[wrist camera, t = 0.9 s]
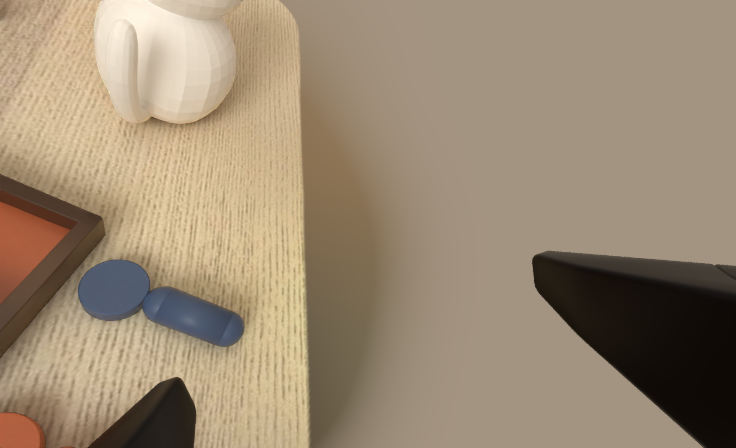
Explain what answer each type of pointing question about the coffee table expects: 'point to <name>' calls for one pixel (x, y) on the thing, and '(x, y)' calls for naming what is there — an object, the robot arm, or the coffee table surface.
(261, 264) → the coffee table surface
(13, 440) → the terracotta spoon
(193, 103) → the cat figurine
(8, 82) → the coffee table surface
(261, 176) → the coffee table surface
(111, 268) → the blue spoon
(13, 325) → the cutlery tray
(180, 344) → the coffee table surface
